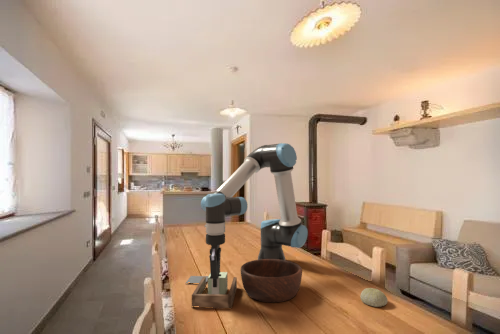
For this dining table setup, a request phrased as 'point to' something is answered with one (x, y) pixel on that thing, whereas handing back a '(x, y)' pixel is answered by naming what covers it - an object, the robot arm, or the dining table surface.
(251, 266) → the wooden bowl
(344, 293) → the dining table surface
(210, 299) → the walnut cubby
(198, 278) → the slate mat
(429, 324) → the dining table surface
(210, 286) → the sage block
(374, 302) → the sea urchin shell
